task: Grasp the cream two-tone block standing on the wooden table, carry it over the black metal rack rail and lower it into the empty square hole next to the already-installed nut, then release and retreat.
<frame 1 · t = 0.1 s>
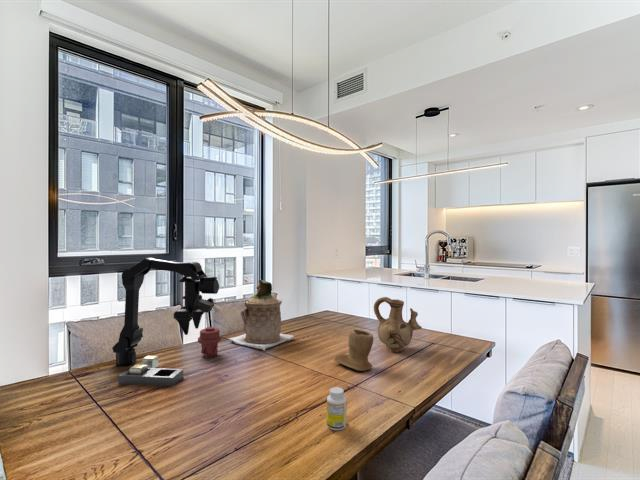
hand: (191, 331, 139), 15 cm above the table, fingers open, 9 cm apart
cookie jar: (262, 341, 176), on the table
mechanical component: (209, 355, 153), on the table
supplement bottle: (336, 426, 97), on the table
installed nut: (138, 379, 125), resting on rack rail
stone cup: (355, 366, 143), on the table
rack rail: (151, 381, 125), on the table
ceramic vessel: (396, 350, 163), on the table
cream two-tone block: (150, 369, 136), on the table
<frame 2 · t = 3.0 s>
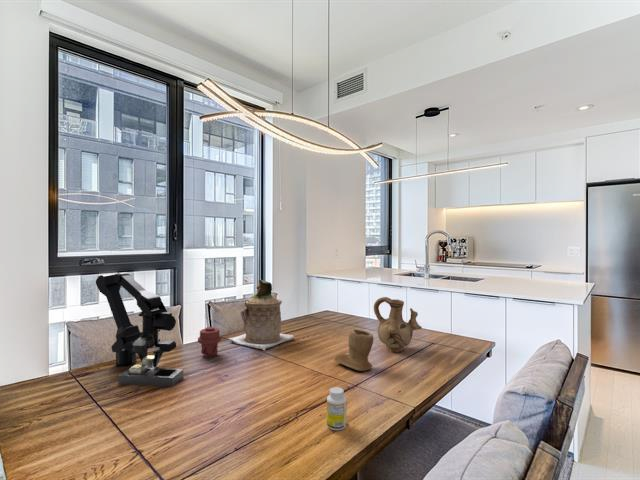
hand: (150, 366, 136), 1 cm above the table, fingers closed on cream two-tone block, 4 cm apart
cream two-tone block: (150, 369, 136), on the table, touching gripper
everything else where it was.
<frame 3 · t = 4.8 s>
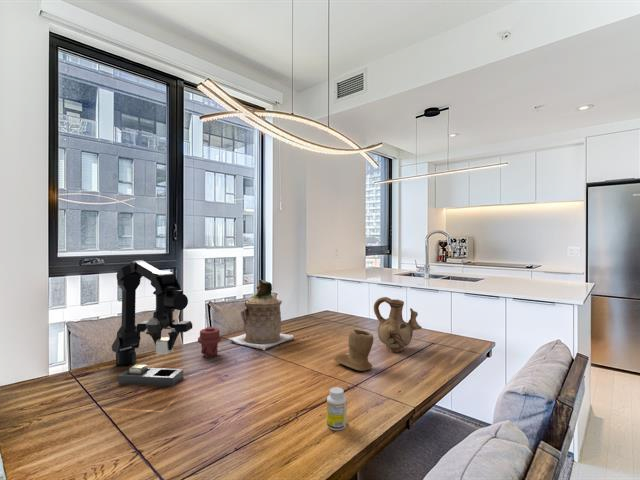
hand: (164, 349, 125), 12 cm above the table, fingers closed on cream two-tone block, 4 cm apart
cream two-tone block: (164, 352, 125), point 11 cm above the table, touching gripper
everything else where it was.
when the fingers open (4 cm above the table, at t = 6.9 s): cream two-tone block drops 2 cm, resting on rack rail.
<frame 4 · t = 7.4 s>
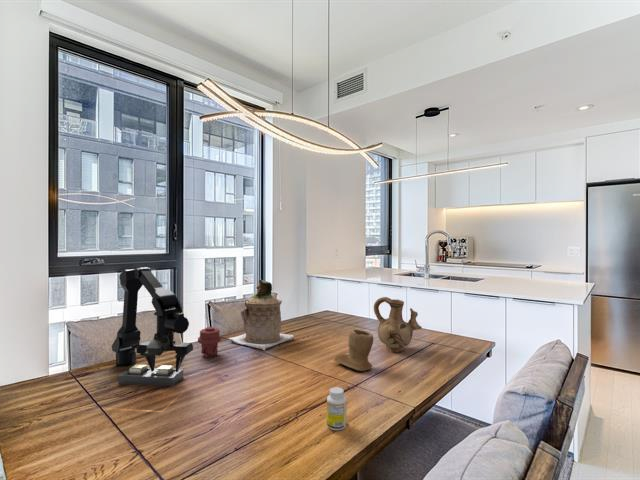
hand: (164, 371, 125), 4 cm above the table, fingers open, 9 cm apart
cream two-tone block: (164, 380, 125), resting on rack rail
everything else where it was.
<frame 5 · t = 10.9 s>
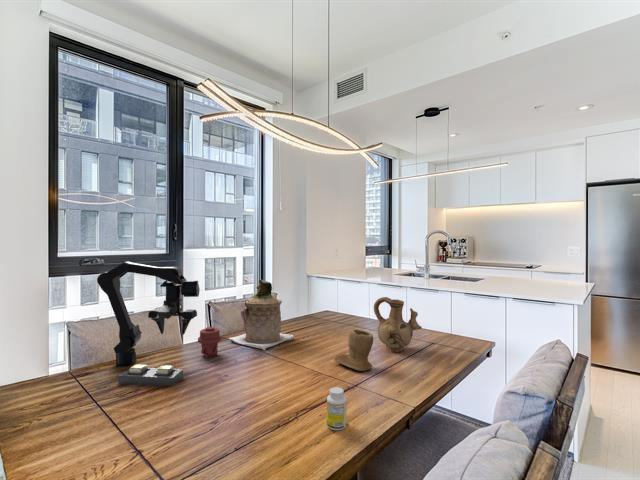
hand: (172, 334, 144), 12 cm above the table, fingers open, 9 cm apart
nothing on the table moved.
at the end: cream two-tone block 0.1 cm from the target spot on the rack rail, point 0.5 cm above the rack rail's base; cream two-tone block tilted 0°; the gripper is holding nothing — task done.
